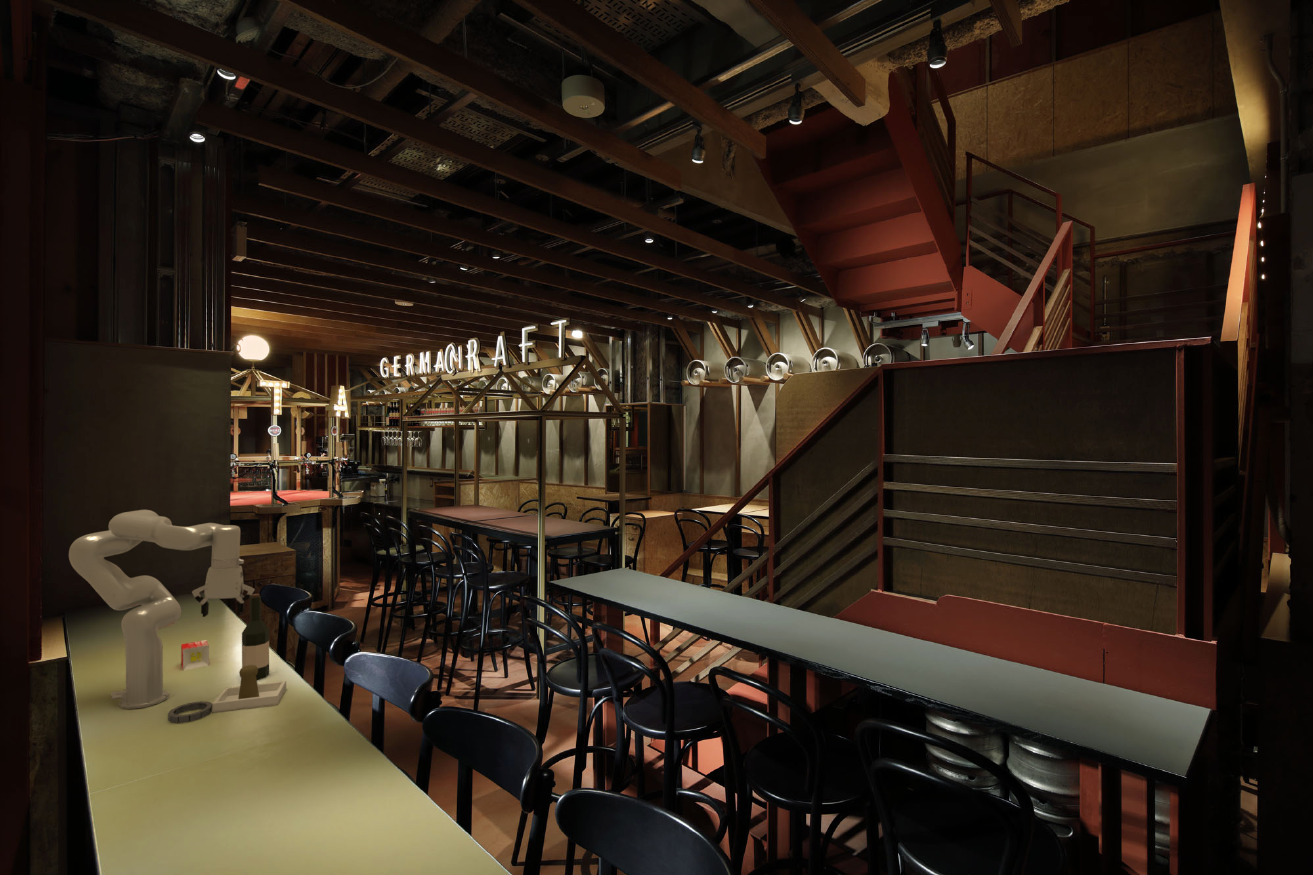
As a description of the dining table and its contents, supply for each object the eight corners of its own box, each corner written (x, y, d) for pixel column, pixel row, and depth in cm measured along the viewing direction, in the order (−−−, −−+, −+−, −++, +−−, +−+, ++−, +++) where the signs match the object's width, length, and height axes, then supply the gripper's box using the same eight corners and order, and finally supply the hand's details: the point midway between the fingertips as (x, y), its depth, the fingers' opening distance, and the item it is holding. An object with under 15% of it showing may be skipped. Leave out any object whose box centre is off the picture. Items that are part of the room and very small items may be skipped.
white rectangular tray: (212, 712, 199) (212, 703, 199) (225, 696, 212) (225, 687, 212) (277, 704, 205) (277, 695, 205) (286, 689, 217) (286, 680, 217)
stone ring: (162, 725, 191) (162, 718, 191) (176, 710, 201) (176, 704, 201) (205, 719, 194) (205, 713, 194) (216, 705, 205) (216, 699, 205)
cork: (263, 695, 211) (262, 662, 211) (253, 703, 205) (253, 669, 205) (243, 696, 211) (243, 663, 211) (233, 703, 205) (233, 670, 205)
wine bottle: (256, 682, 224) (255, 598, 224) (236, 680, 226) (235, 596, 225) (274, 673, 232) (274, 592, 232) (255, 671, 234) (255, 591, 233)
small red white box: (183, 670, 235) (183, 649, 235) (181, 664, 241) (181, 644, 241) (209, 665, 240) (209, 644, 240) (206, 659, 246) (206, 639, 246)
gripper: (258, 560, 214) (255, 610, 214) (198, 561, 208) (195, 612, 208) (252, 565, 207) (249, 617, 207) (189, 566, 201) (187, 619, 201)
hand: (222, 615), depth 207 cm, fingers open, 9 cm apart
